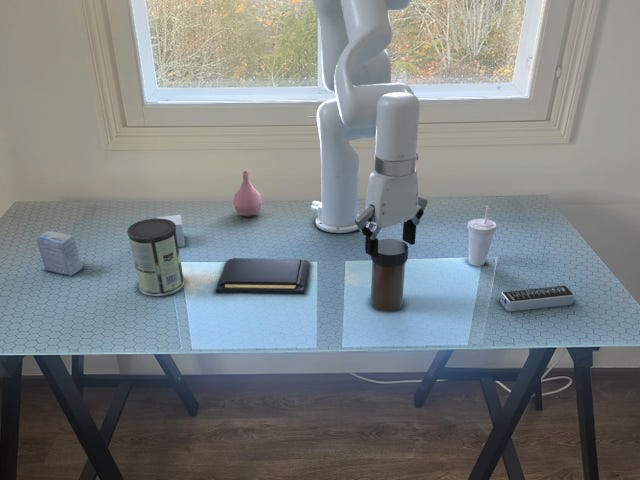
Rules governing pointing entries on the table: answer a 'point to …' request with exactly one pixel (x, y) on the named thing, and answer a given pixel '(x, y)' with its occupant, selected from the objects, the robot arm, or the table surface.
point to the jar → (387, 287)
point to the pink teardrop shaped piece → (247, 198)
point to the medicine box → (59, 253)
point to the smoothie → (480, 239)
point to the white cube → (177, 228)
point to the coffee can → (156, 256)
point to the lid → (391, 253)
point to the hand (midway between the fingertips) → (390, 248)
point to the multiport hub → (537, 298)
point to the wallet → (264, 276)
